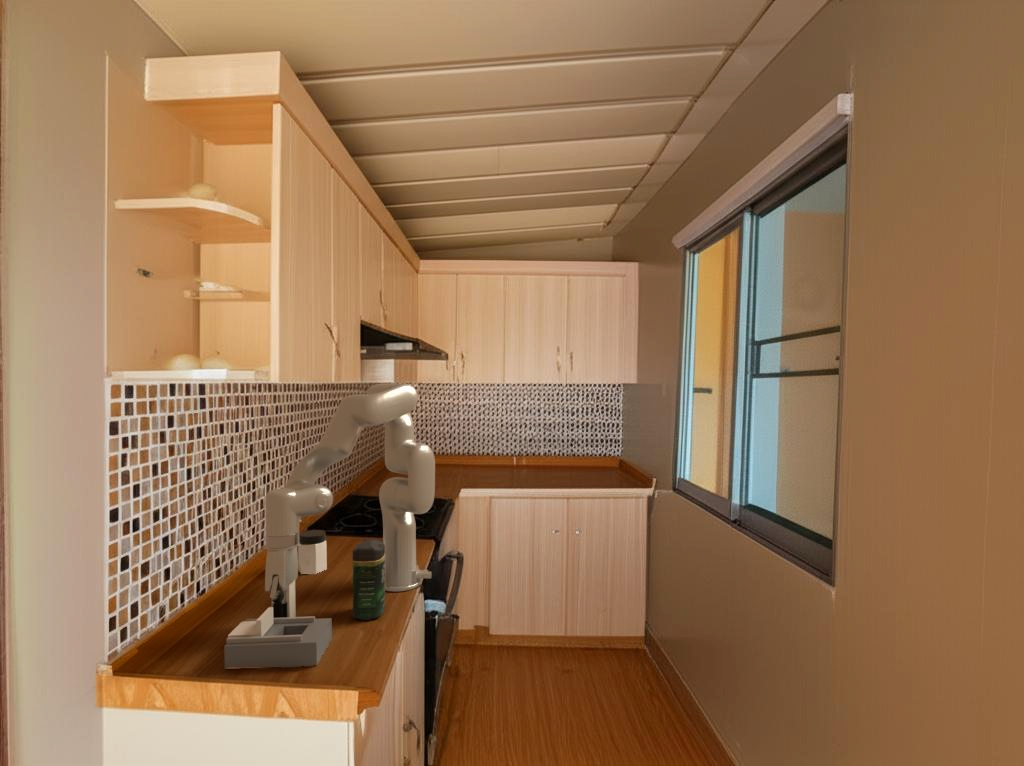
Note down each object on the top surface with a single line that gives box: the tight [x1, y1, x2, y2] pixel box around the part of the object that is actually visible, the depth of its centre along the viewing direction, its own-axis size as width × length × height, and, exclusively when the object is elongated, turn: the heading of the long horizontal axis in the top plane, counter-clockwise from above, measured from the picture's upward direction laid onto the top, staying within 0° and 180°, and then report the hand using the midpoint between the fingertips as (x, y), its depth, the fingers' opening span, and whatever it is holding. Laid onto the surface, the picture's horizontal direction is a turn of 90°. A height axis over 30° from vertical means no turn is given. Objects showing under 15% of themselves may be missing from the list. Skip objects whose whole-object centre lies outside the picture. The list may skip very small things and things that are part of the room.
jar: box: [297, 529, 328, 575], centre depth 176 cm, size 9×8×12 cm
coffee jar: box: [352, 539, 386, 621], centre depth 143 cm, size 10×8×19 cm
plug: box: [271, 580, 297, 617], centre depth 134 cm, size 4×4×14 cm
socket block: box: [223, 615, 333, 669], centre depth 122 cm, size 19×12×6 cm, turn 93°
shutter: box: [227, 606, 274, 638], centre depth 122 cm, size 7×7×4 cm
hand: (283, 614), depth 134 cm, fingers closed on plug, 4 cm apart
